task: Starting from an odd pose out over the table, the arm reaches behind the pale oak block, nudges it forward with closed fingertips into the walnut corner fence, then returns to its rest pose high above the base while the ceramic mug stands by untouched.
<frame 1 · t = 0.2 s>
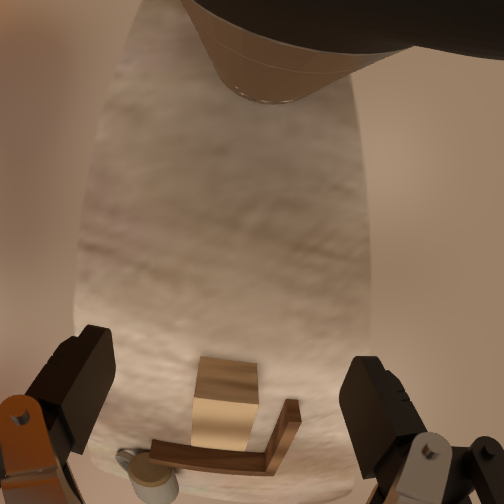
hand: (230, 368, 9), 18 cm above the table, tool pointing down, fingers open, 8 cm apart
ceramic mug: (149, 459, 41), on the table
oak block: (223, 387, 33), on the table
corner fence: (217, 426, 36), on the table
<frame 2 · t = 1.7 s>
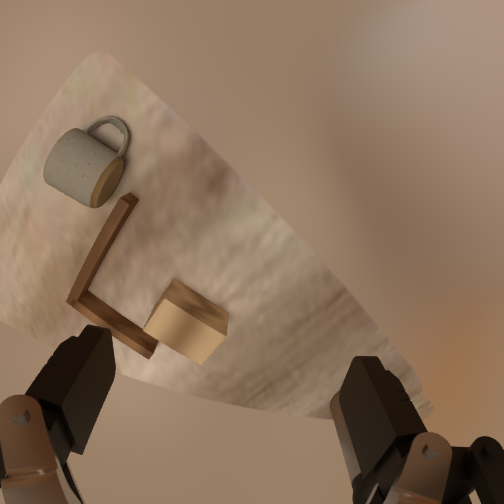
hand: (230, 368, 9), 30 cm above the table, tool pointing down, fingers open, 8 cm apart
ceramic mug: (101, 156, 36), on the table
oak block: (190, 310, 43), on the table
corner fence: (142, 278, 41), on the table
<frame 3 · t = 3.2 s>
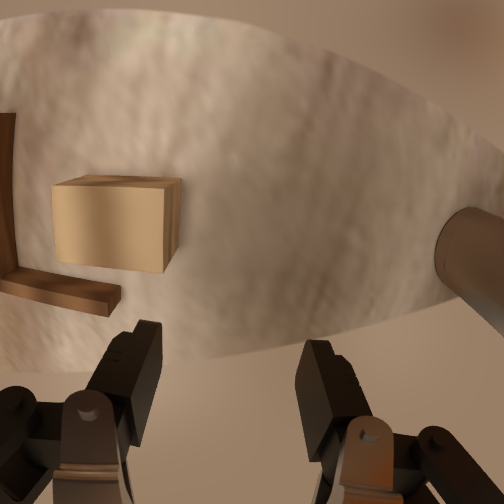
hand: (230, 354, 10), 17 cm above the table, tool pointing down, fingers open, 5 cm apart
oak block: (130, 209, 26), on the table
corner fence: (56, 203, 25), on the table
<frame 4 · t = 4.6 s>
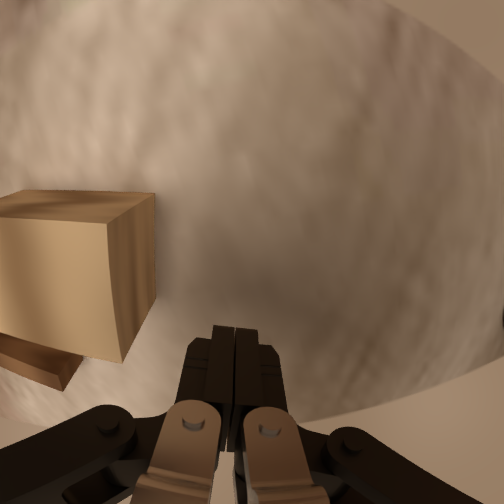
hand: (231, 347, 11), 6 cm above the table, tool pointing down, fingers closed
oak block: (83, 241, 16), on the table
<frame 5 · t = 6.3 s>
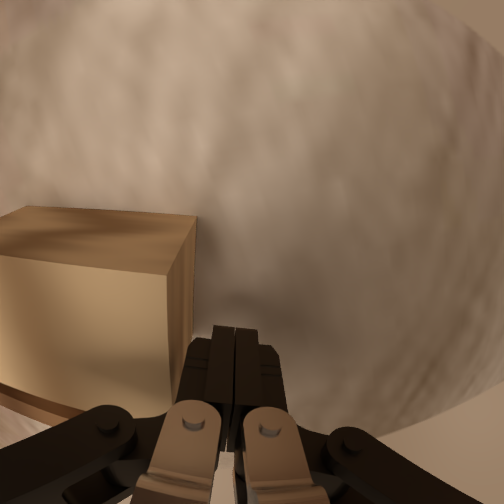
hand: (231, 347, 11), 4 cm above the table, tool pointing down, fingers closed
oak block: (102, 271, 14), on the table, touching gripper
corner fence: (8, 257, 13), on the table
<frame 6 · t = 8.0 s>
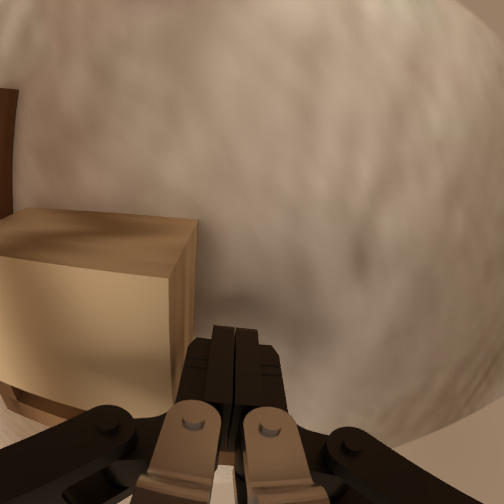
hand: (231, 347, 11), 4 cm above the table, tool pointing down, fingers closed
oak block: (105, 272, 14), on the table
corner fence: (114, 278, 14), on the table
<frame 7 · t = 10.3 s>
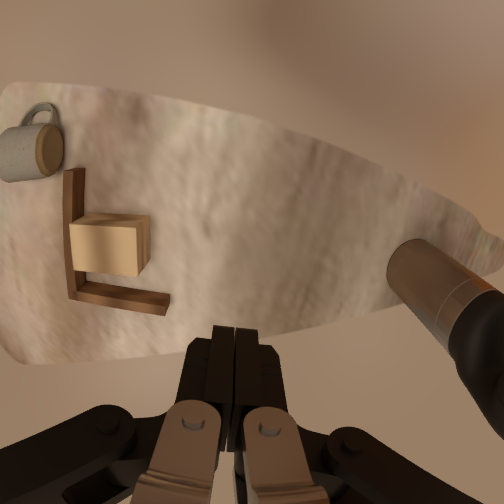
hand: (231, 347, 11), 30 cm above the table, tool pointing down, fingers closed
ceramic mug: (43, 141, 35), on the table
oak block: (119, 235, 40), on the table
corner fence: (123, 237, 40), on the table
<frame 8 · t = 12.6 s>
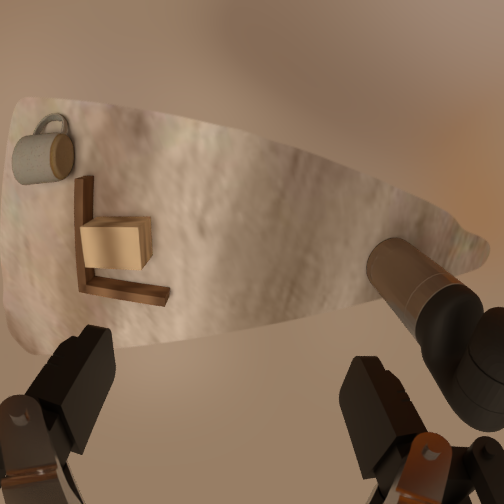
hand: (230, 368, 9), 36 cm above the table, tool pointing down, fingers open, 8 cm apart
ceramic mug: (55, 147, 40), on the table
oak block: (124, 235, 45), on the table
corner fence: (128, 237, 45), on the table
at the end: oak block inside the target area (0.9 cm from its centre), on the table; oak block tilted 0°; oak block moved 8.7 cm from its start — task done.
